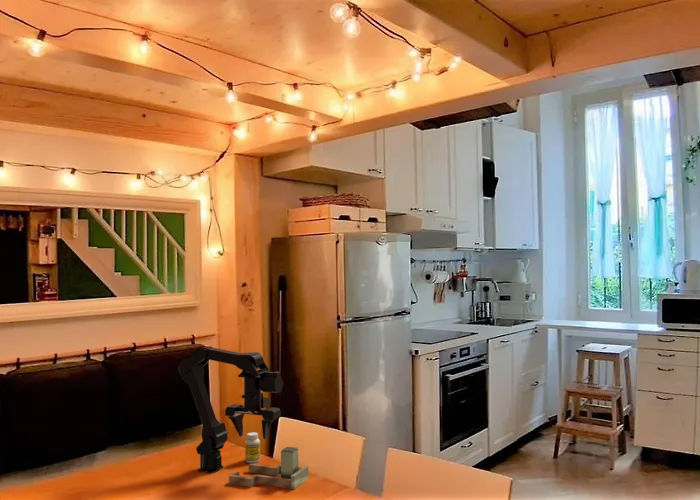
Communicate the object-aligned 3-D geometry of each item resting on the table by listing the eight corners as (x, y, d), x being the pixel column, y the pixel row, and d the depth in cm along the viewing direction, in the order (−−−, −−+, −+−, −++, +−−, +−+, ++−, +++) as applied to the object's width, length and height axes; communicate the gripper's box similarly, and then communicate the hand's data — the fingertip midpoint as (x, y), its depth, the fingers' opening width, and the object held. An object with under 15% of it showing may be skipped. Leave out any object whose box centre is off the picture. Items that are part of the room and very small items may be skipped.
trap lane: (229, 483, 188) (229, 471, 188) (254, 467, 202) (254, 456, 202) (290, 492, 179) (290, 479, 179) (312, 475, 194) (312, 463, 194)
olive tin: (281, 482, 187) (280, 450, 187) (287, 478, 191) (286, 446, 191) (292, 484, 186) (292, 451, 186) (298, 479, 189) (298, 447, 190)
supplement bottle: (256, 457, 214) (256, 430, 214) (262, 461, 209) (262, 434, 210) (242, 460, 211) (242, 433, 211) (248, 464, 206) (248, 436, 207)
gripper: (288, 388, 200) (288, 433, 200) (241, 384, 207) (242, 428, 206) (272, 394, 190) (272, 443, 189) (223, 390, 197) (224, 437, 196)
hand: (252, 437), depth 195 cm, fingers open, 9 cm apart
